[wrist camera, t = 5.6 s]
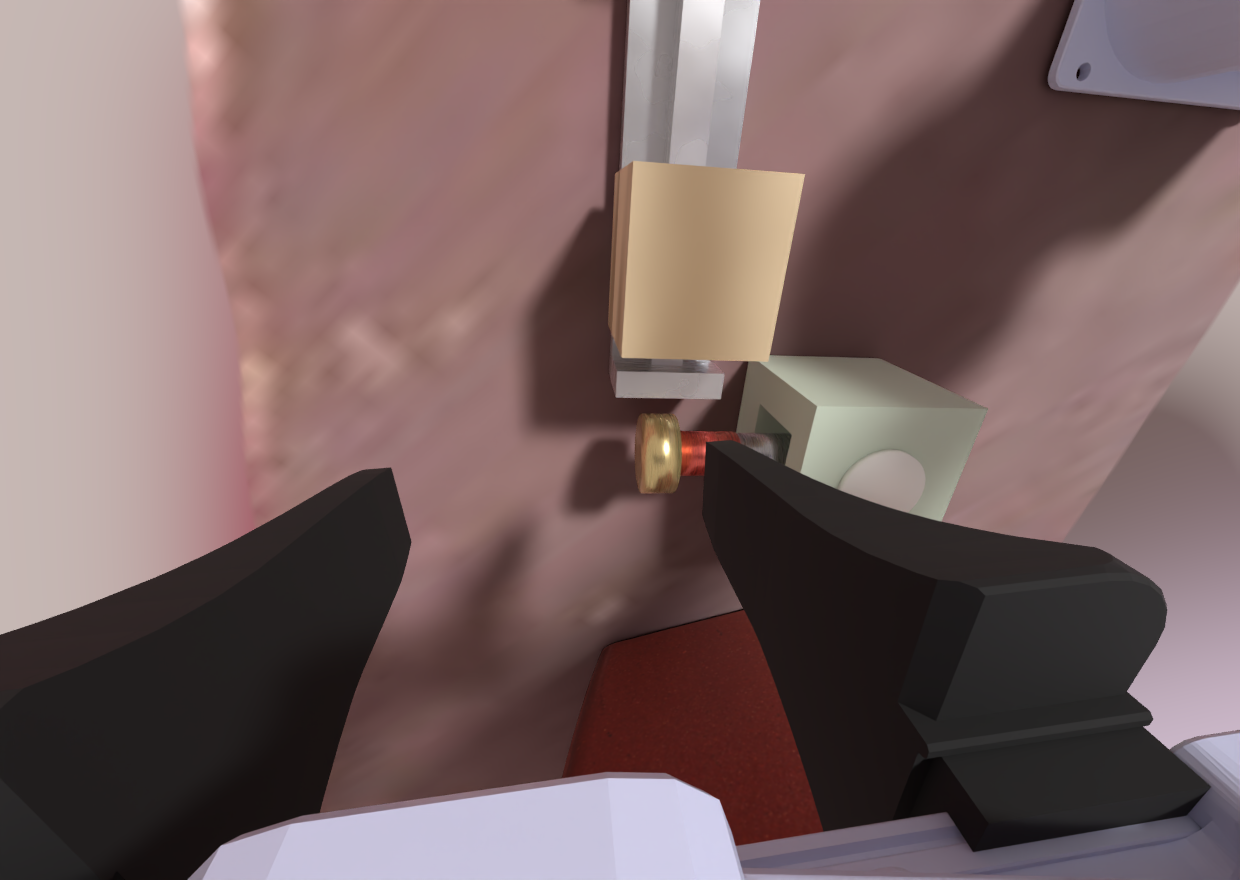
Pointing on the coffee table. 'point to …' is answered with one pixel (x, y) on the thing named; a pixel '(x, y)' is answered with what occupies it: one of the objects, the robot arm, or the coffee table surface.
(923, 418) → the cabinet
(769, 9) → the coffee table surface
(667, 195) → the carriage
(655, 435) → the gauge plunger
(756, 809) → the plant pot
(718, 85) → the rail
